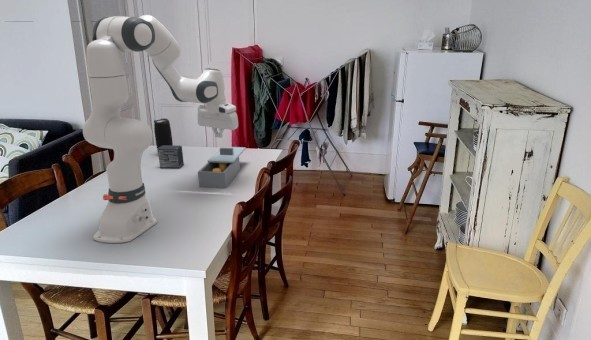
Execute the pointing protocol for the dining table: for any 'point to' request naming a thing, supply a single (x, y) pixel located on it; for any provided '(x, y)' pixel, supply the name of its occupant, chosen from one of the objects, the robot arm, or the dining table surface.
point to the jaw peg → (216, 170)
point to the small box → (170, 156)
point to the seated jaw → (223, 166)
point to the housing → (218, 175)
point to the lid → (227, 154)
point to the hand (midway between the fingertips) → (218, 137)
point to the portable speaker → (162, 132)
